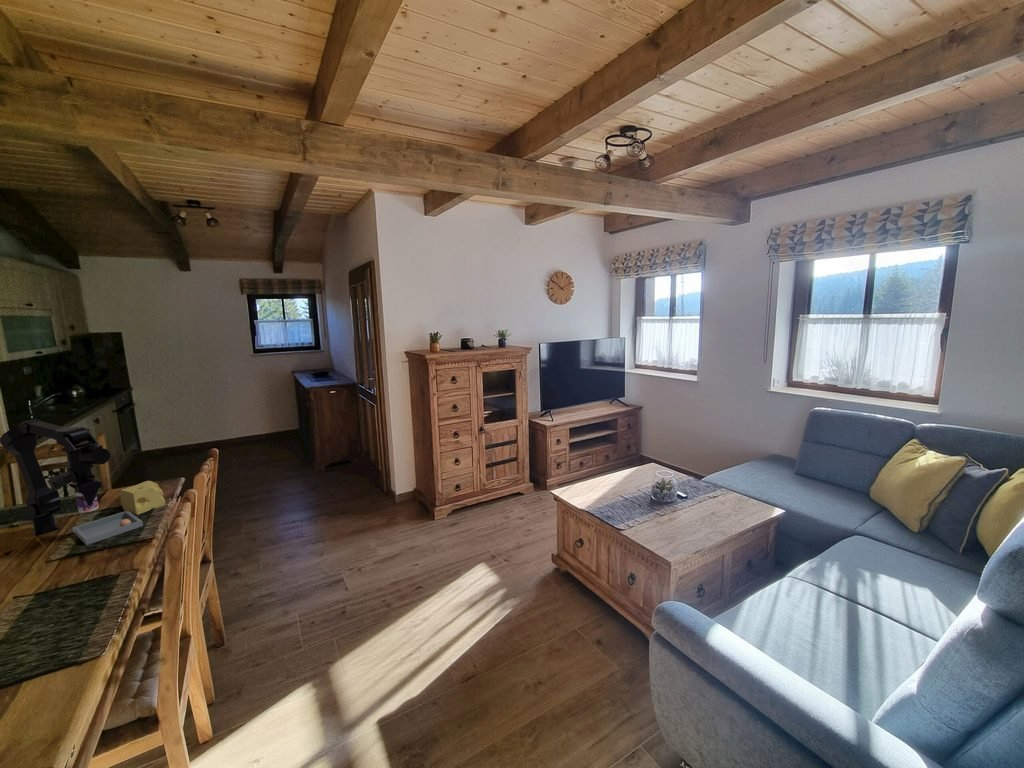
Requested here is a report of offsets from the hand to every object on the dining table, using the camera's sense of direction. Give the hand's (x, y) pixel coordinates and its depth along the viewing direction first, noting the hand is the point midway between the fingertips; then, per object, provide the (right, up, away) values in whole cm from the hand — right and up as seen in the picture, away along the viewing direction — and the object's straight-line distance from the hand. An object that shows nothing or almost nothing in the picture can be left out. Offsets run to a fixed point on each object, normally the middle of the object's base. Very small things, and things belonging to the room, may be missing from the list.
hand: (87, 503), depth 158 cm
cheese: (+2, -9, +22) cm, 24 cm away
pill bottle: (0, -3, +1) cm, 3 cm away
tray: (+3, -12, +5) cm, 13 cm away
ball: (+9, -11, +6) cm, 15 cm away
